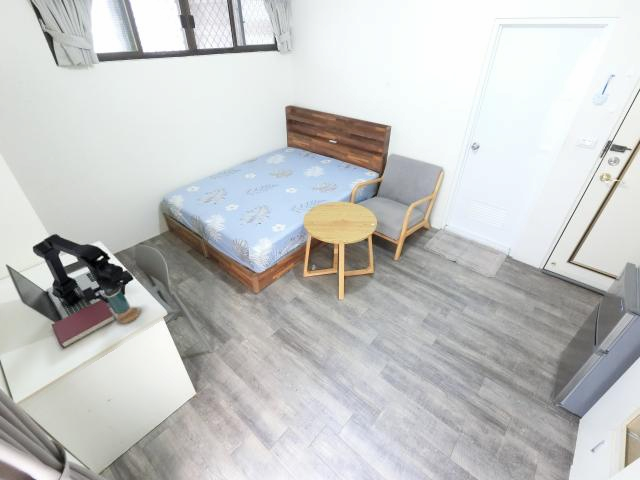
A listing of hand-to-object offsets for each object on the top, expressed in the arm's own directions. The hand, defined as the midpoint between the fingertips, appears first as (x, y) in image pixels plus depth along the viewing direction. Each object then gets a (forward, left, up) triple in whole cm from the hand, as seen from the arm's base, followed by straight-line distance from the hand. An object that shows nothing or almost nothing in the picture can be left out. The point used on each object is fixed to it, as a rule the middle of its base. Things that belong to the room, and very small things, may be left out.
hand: (116, 298), depth 136 cm
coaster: (0, +1, -12) cm, 12 cm away
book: (-15, -9, -12) cm, 21 cm away
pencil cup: (-4, +2, -6) cm, 7 cm away
